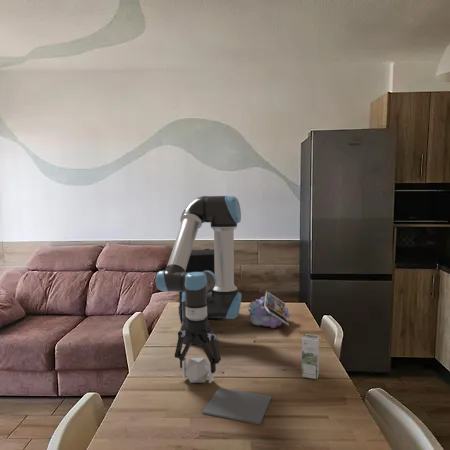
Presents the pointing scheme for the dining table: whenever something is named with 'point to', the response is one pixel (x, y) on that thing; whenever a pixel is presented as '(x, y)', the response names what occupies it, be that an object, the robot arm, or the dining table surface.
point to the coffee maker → (199, 269)
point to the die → (197, 370)
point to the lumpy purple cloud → (268, 311)
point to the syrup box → (310, 356)
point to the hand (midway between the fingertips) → (197, 378)
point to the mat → (238, 405)
